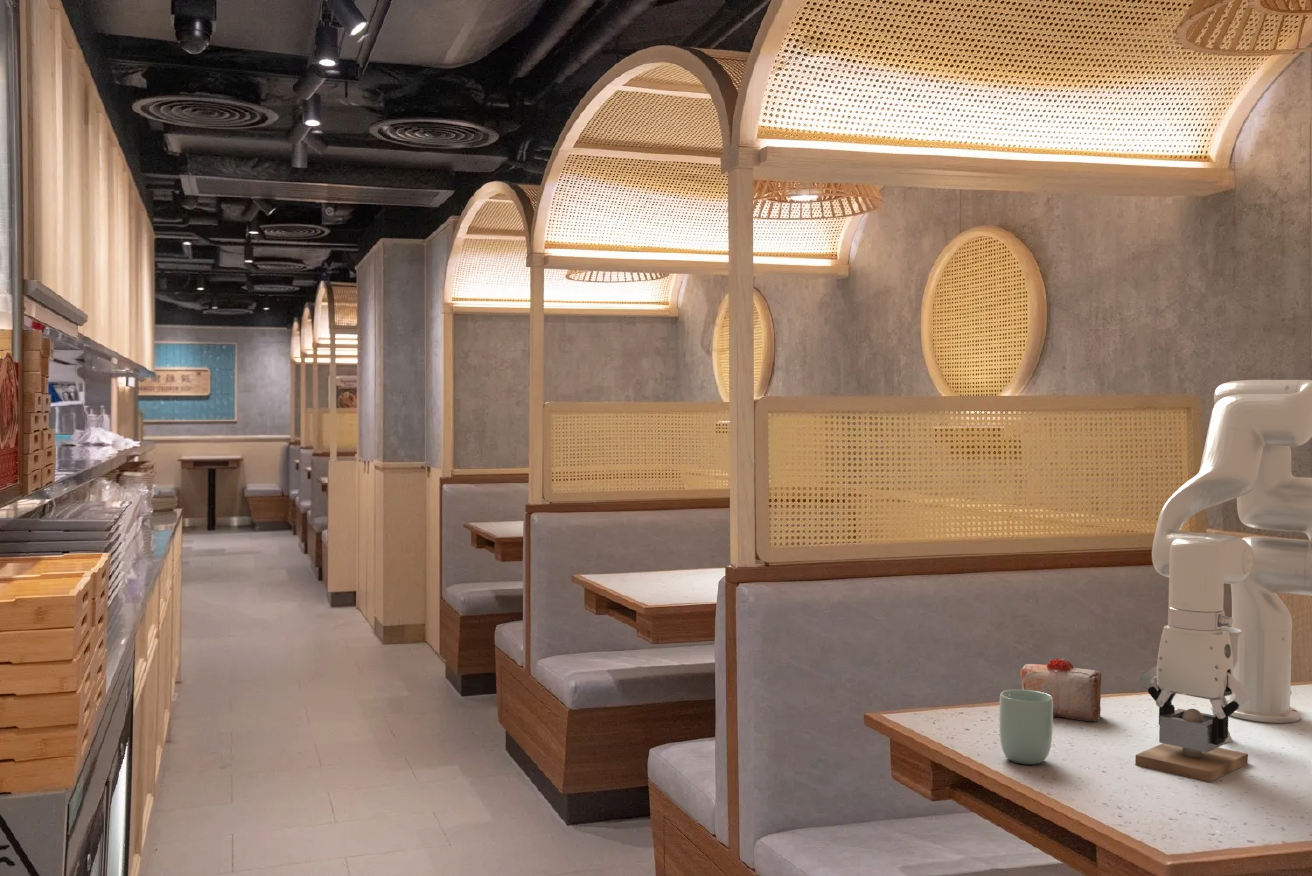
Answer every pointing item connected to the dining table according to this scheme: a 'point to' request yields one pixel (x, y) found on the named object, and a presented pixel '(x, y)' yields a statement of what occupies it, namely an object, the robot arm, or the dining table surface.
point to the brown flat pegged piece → (1192, 758)
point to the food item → (1066, 688)
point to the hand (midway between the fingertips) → (1192, 736)
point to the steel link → (1187, 731)
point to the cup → (1026, 725)
